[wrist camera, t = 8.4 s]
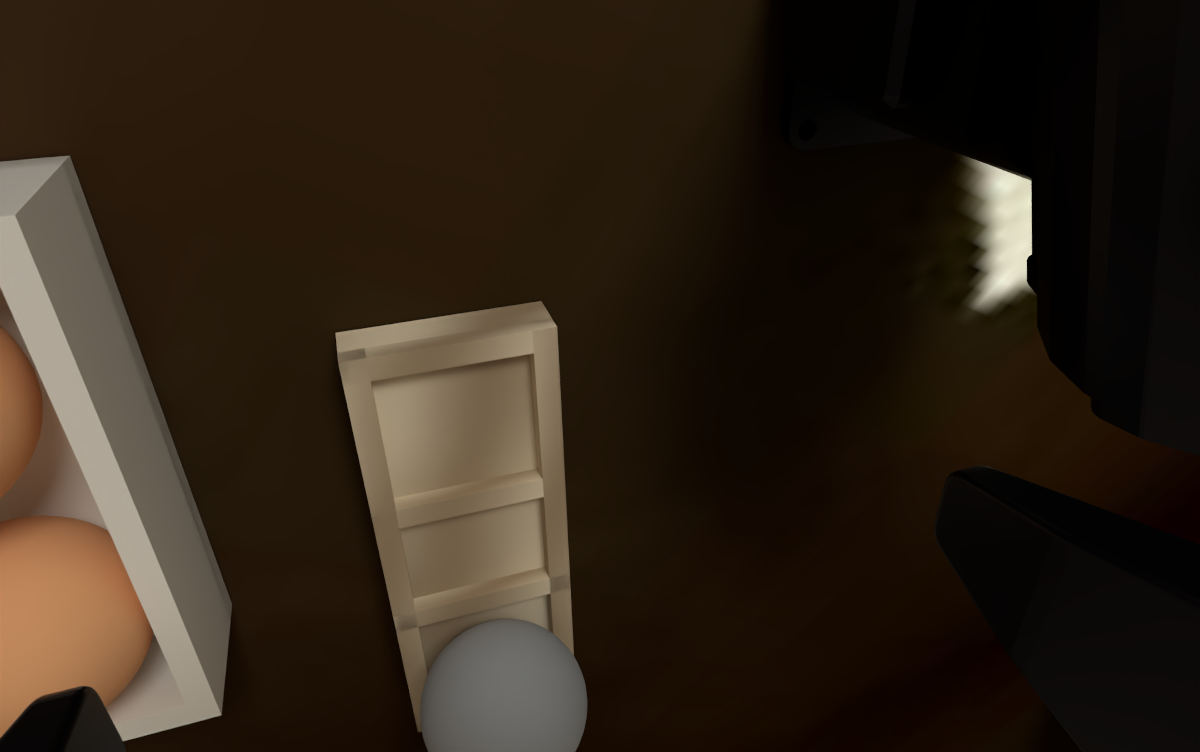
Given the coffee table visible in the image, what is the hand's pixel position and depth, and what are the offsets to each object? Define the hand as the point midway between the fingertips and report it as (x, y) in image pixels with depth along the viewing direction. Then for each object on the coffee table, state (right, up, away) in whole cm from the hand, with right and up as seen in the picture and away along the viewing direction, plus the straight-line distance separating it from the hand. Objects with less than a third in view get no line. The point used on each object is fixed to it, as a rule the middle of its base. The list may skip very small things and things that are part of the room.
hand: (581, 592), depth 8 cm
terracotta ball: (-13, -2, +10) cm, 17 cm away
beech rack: (-4, -2, +14) cm, 15 cm away
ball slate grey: (-3, -6, +16) cm, 17 cm away
